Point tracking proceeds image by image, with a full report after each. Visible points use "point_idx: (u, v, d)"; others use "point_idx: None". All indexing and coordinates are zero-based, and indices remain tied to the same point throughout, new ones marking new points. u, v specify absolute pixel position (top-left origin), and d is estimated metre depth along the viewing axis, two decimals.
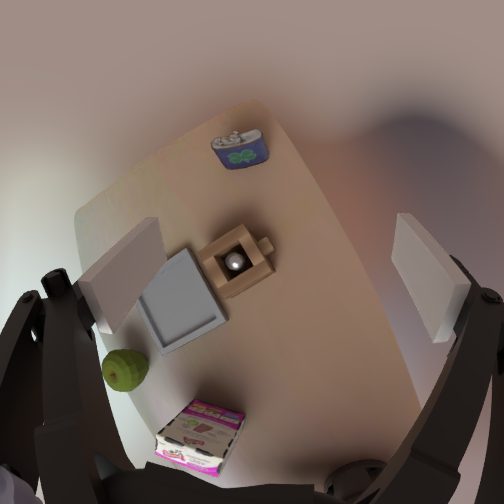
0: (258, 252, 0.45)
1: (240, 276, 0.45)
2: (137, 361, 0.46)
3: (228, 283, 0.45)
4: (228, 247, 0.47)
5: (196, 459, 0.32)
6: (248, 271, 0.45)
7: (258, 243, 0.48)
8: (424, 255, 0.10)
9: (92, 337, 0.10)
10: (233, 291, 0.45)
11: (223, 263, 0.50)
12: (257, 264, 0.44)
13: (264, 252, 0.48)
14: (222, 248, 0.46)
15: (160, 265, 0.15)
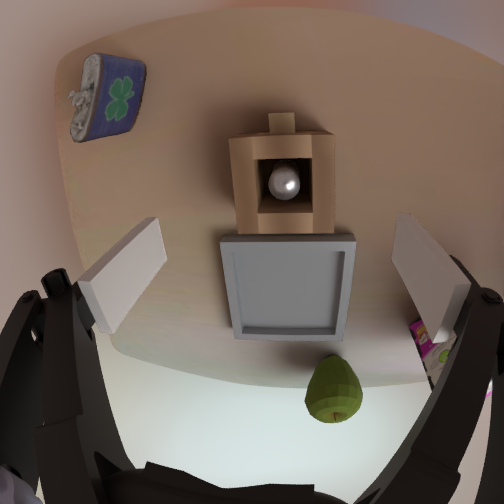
0: (293, 138, 0.22)
1: (316, 188, 0.23)
2: (336, 379, 0.34)
3: (315, 213, 0.25)
4: (256, 181, 0.25)
5: (491, 386, 0.19)
6: (315, 171, 0.23)
7: (273, 131, 0.24)
8: (424, 255, 0.10)
9: (92, 337, 0.10)
10: (332, 212, 0.24)
11: (272, 199, 0.29)
12: (312, 150, 0.22)
13: (292, 129, 0.24)
14: (253, 192, 0.25)
15: (160, 265, 0.15)
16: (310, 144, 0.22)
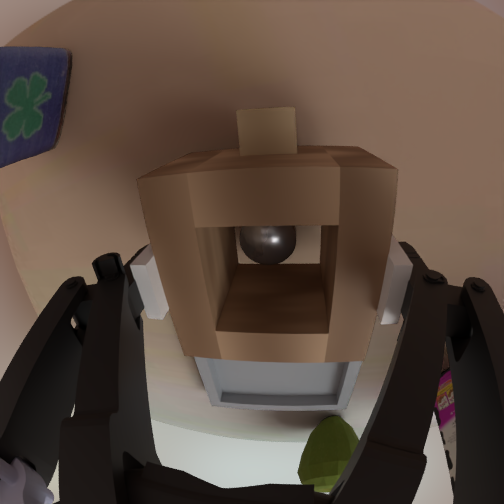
0: (293, 175, 0.09)
1: (342, 291, 0.10)
2: (336, 454, 0.24)
3: (333, 334, 0.11)
4: (209, 268, 0.12)
5: None
6: (344, 256, 0.10)
7: (247, 149, 0.11)
8: None
9: (140, 326, 0.10)
10: (368, 331, 0.11)
11: (251, 280, 0.16)
12: (341, 208, 0.09)
13: (291, 145, 0.11)
14: (203, 295, 0.11)
15: None
16: (337, 191, 0.09)
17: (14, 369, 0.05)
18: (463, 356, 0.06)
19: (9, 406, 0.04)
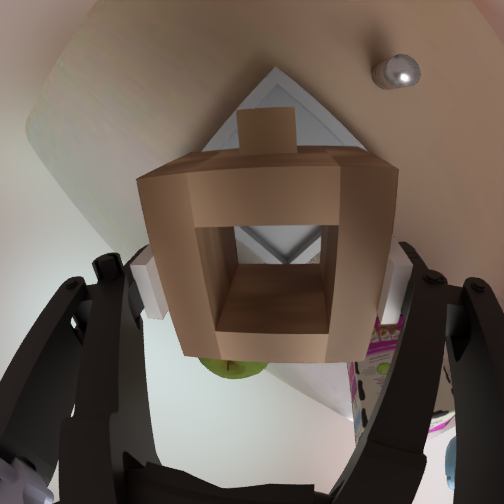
0: (293, 174, 0.09)
1: (342, 291, 0.10)
2: None
3: (333, 334, 0.11)
4: (209, 268, 0.12)
5: None
6: (344, 256, 0.10)
7: (247, 149, 0.11)
8: None
9: (140, 326, 0.10)
10: (368, 331, 0.11)
11: (251, 280, 0.16)
12: (341, 207, 0.09)
13: (291, 145, 0.11)
14: (203, 295, 0.11)
15: None
16: (337, 191, 0.09)
17: (14, 369, 0.05)
18: (463, 356, 0.06)
19: (9, 406, 0.04)
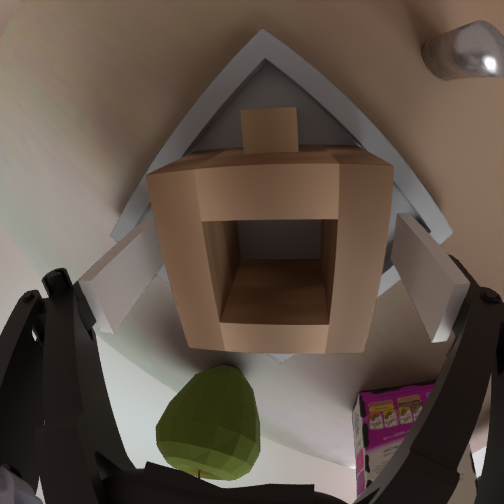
0: (295, 171, 0.09)
1: (341, 282, 0.11)
2: (239, 422, 0.17)
3: (333, 326, 0.12)
4: (214, 261, 0.12)
5: None
6: (343, 248, 0.10)
7: (250, 148, 0.12)
8: (423, 255, 0.10)
9: (93, 337, 0.10)
10: (367, 322, 0.12)
11: (254, 275, 0.16)
12: (340, 202, 0.09)
13: (293, 144, 0.11)
14: (208, 287, 0.12)
15: (160, 264, 0.15)
16: (336, 187, 0.09)
17: None
18: None
19: None
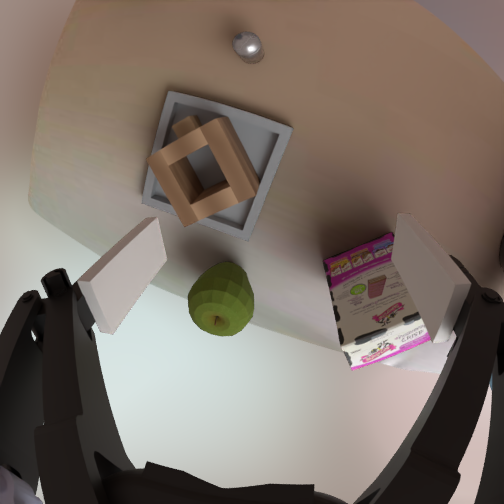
0: (188, 136, 0.26)
1: (223, 165, 0.27)
2: (229, 275, 0.33)
3: (232, 186, 0.28)
4: (180, 181, 0.29)
5: (410, 333, 0.23)
6: (215, 153, 0.27)
7: (180, 137, 0.29)
8: (424, 255, 0.10)
9: (92, 337, 0.10)
10: (245, 178, 0.28)
11: (208, 190, 0.33)
12: (206, 138, 0.26)
13: (194, 129, 0.29)
14: (180, 190, 0.29)
15: (160, 265, 0.15)
16: (202, 134, 0.26)
17: None
18: None
19: None
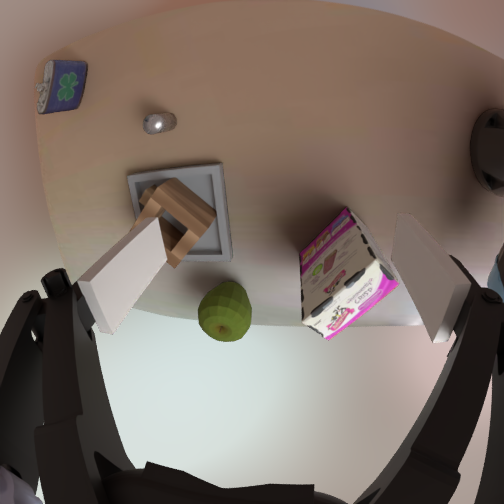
0: (147, 206, 0.37)
1: (177, 216, 0.37)
2: (220, 292, 0.42)
3: (190, 228, 0.38)
4: None
5: (359, 293, 0.28)
6: (168, 210, 0.37)
7: None
8: (424, 255, 0.10)
9: (92, 337, 0.10)
10: (195, 219, 0.37)
11: None
12: (158, 203, 0.37)
13: None
14: None
15: (160, 265, 0.15)
16: (154, 201, 0.37)
17: None
18: None
19: None
